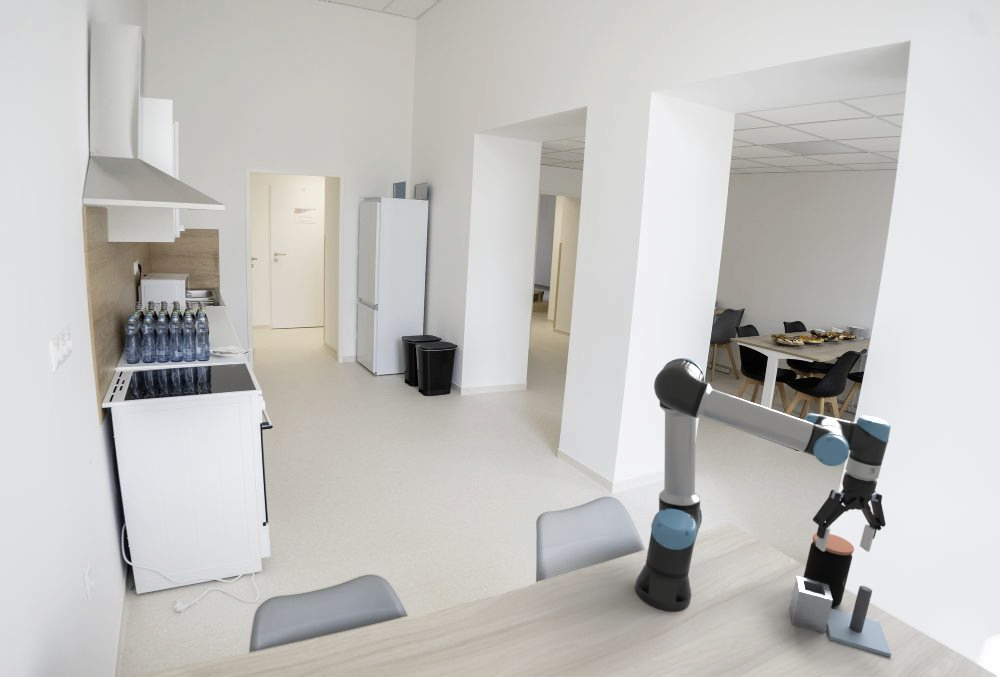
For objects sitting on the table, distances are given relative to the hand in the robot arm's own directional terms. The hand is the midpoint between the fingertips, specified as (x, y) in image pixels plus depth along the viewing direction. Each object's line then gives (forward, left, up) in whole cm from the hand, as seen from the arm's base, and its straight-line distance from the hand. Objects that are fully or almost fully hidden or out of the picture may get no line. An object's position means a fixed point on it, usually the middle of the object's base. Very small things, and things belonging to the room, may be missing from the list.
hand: (842, 548), depth 167 cm
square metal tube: (-5, -3, -22) cm, 23 cm away
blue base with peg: (+7, -2, -22) cm, 23 cm away
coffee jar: (0, +11, -22) cm, 25 cm away
